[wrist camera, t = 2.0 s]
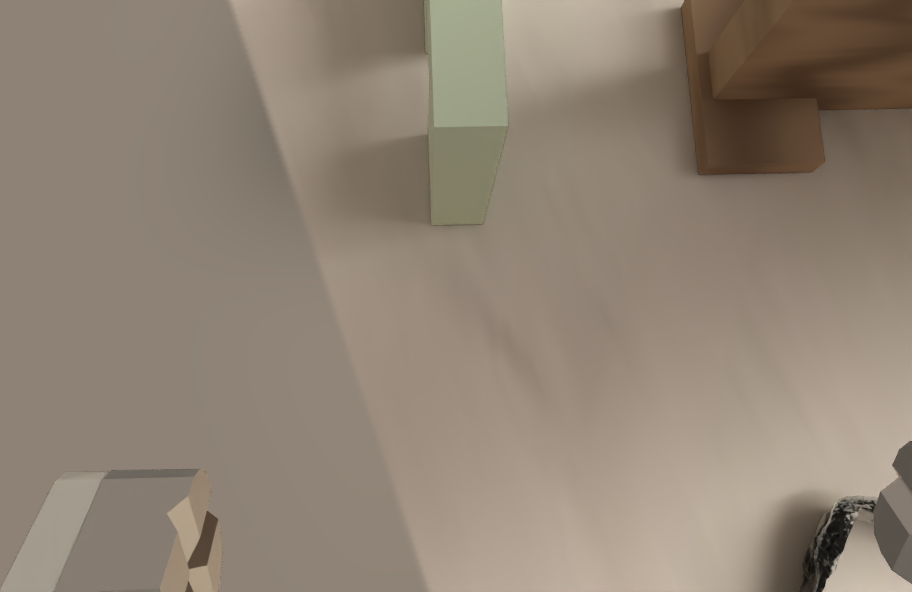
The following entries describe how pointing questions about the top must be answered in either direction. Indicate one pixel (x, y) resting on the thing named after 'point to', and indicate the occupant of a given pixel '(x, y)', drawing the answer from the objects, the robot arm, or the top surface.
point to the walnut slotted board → (788, 75)
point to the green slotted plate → (464, 106)
